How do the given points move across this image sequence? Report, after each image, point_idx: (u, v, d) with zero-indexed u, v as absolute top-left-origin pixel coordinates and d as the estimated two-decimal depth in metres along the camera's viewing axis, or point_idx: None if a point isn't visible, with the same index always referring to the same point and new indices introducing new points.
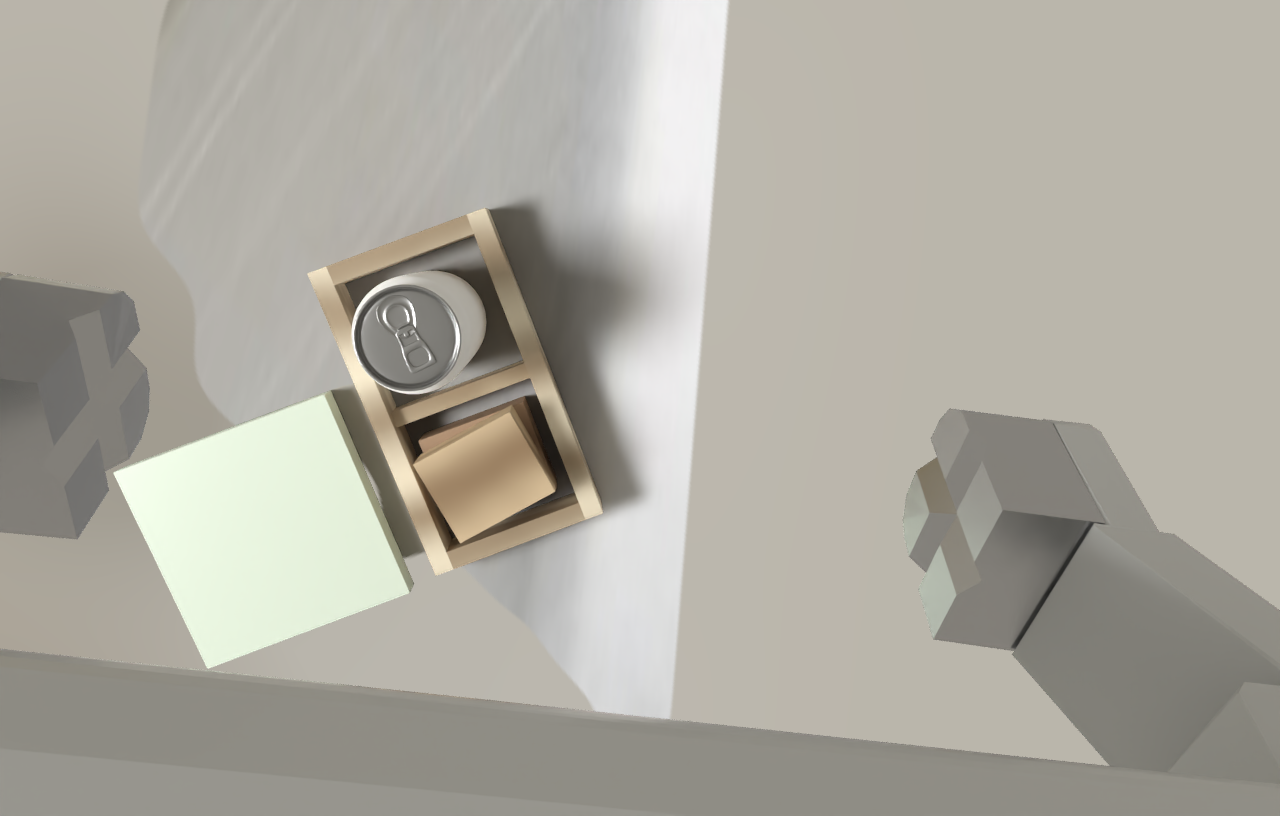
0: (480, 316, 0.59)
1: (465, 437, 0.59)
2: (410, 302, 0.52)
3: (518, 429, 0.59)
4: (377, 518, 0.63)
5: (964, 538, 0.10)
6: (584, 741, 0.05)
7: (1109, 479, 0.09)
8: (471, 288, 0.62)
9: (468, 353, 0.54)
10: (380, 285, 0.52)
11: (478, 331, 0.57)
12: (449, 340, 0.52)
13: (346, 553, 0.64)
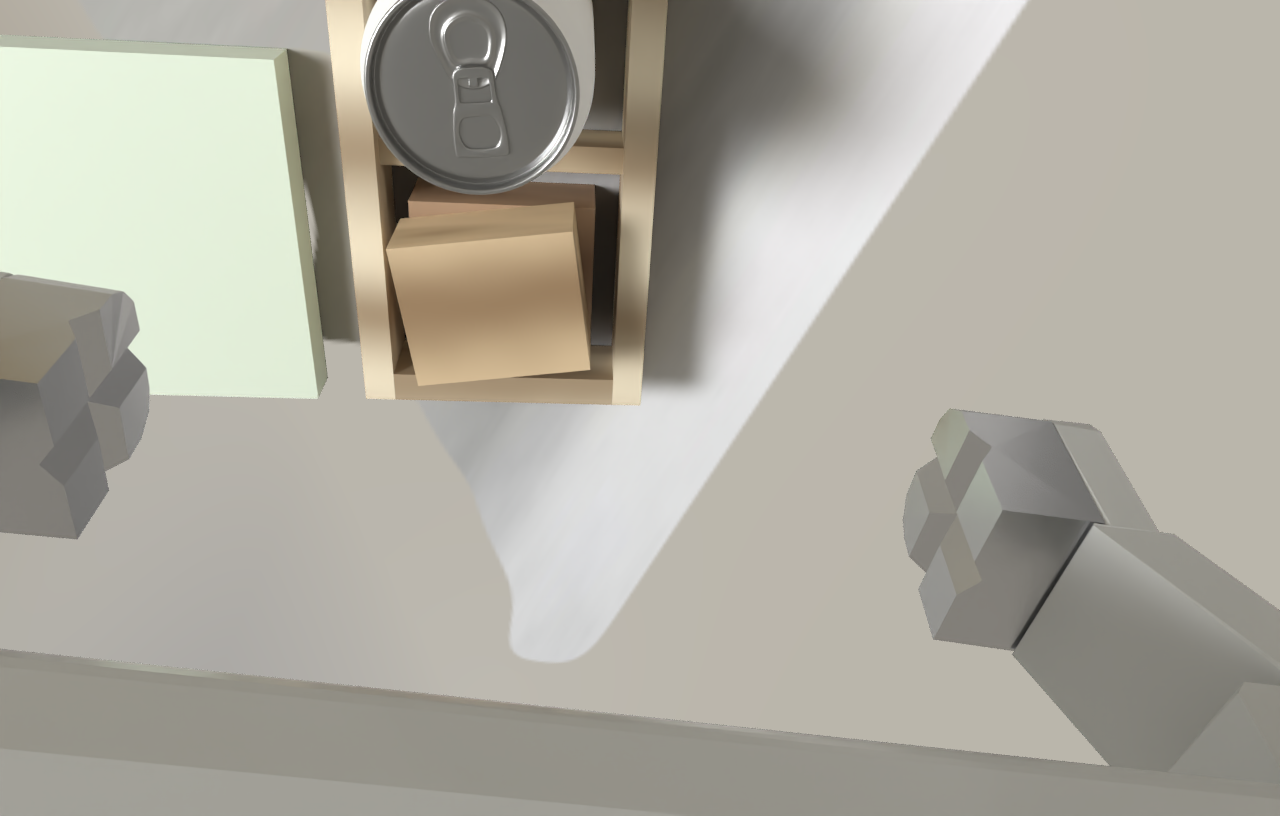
0: None
1: (486, 241, 0.35)
2: (504, 24, 0.25)
3: (575, 262, 0.35)
4: (302, 282, 0.39)
5: (964, 538, 0.10)
6: (584, 741, 0.05)
7: (1108, 480, 0.09)
8: None
9: None
10: None
11: None
12: (548, 126, 0.27)
13: (238, 313, 0.40)
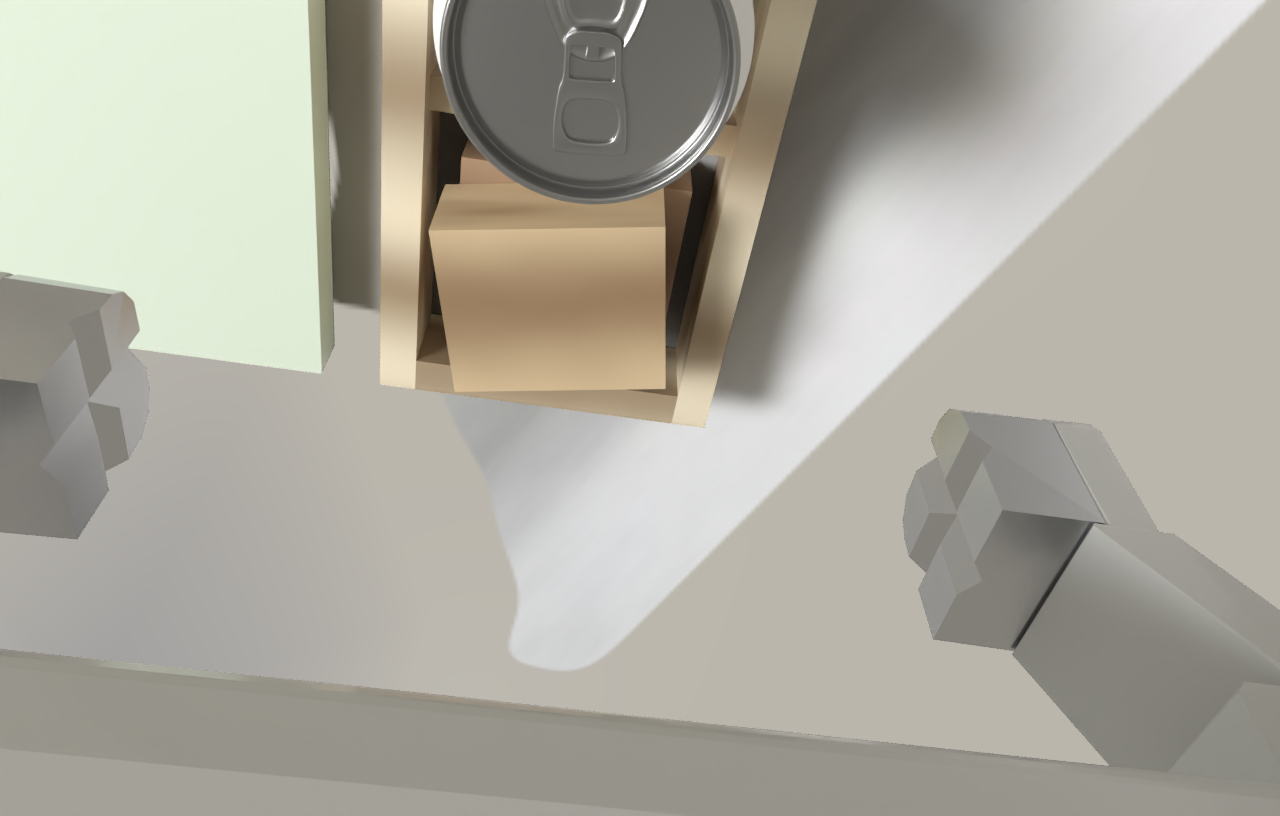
0: None
1: (556, 230, 0.28)
2: None
3: (663, 263, 0.28)
4: (316, 239, 0.32)
5: (964, 538, 0.10)
6: (584, 741, 0.05)
7: (1109, 480, 0.09)
8: None
9: None
10: None
11: None
12: (684, 123, 0.19)
13: (234, 266, 0.33)
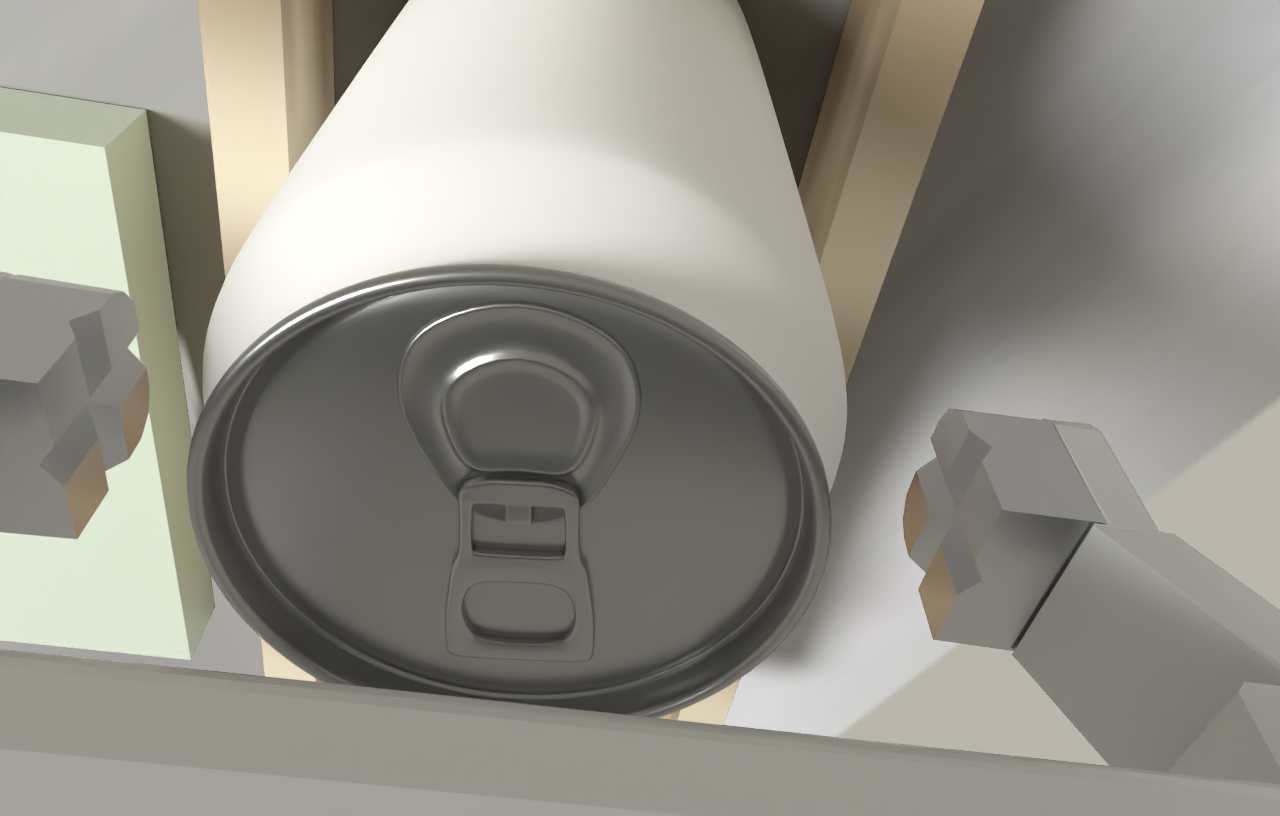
0: None
1: None
2: (638, 392, 0.08)
3: None
4: (165, 506, 0.22)
5: (964, 538, 0.10)
6: (584, 741, 0.05)
7: (1108, 479, 0.09)
8: None
9: None
10: (504, 158, 0.08)
11: None
12: (708, 613, 0.10)
13: (51, 538, 0.23)
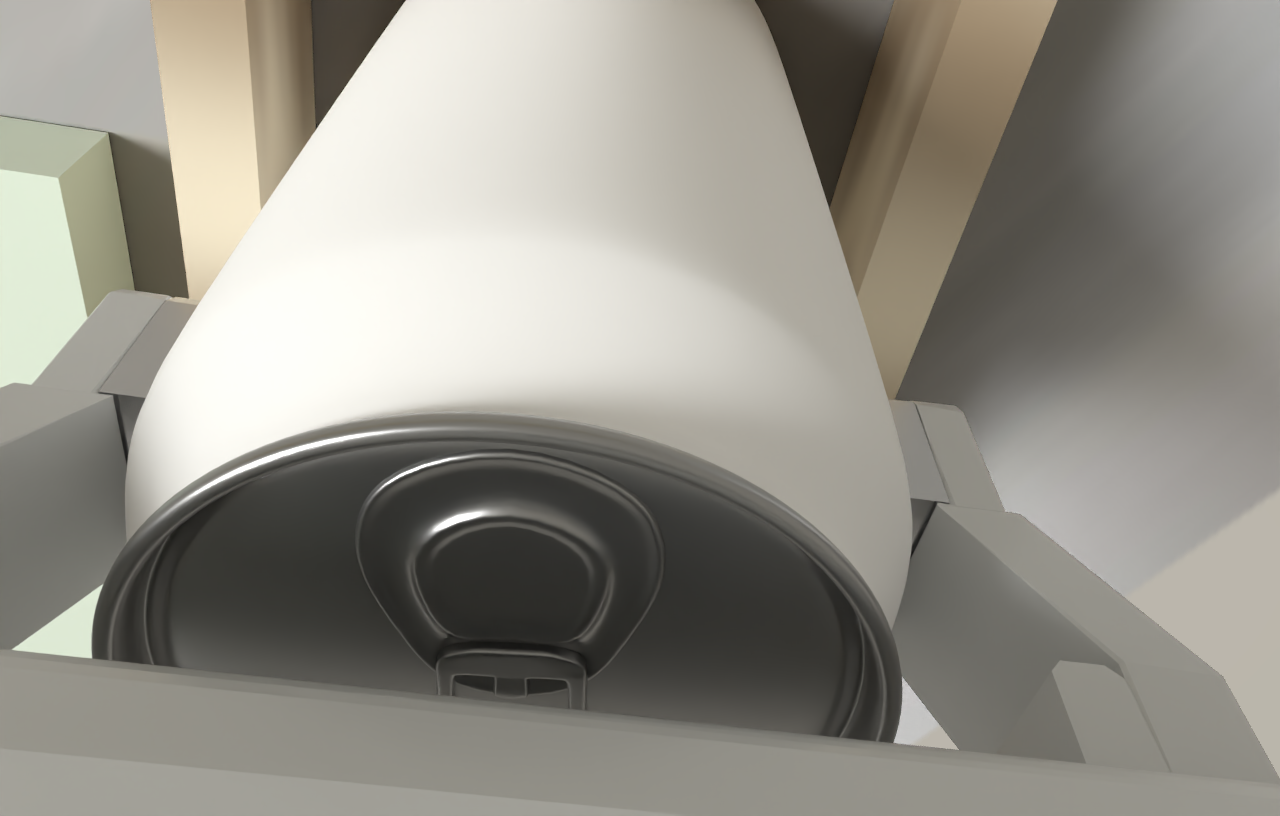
0: None
1: None
2: (661, 553, 0.06)
3: None
4: None
5: None
6: (584, 741, 0.05)
7: (961, 459, 0.09)
8: None
9: None
10: (491, 257, 0.06)
11: None
12: None
13: None
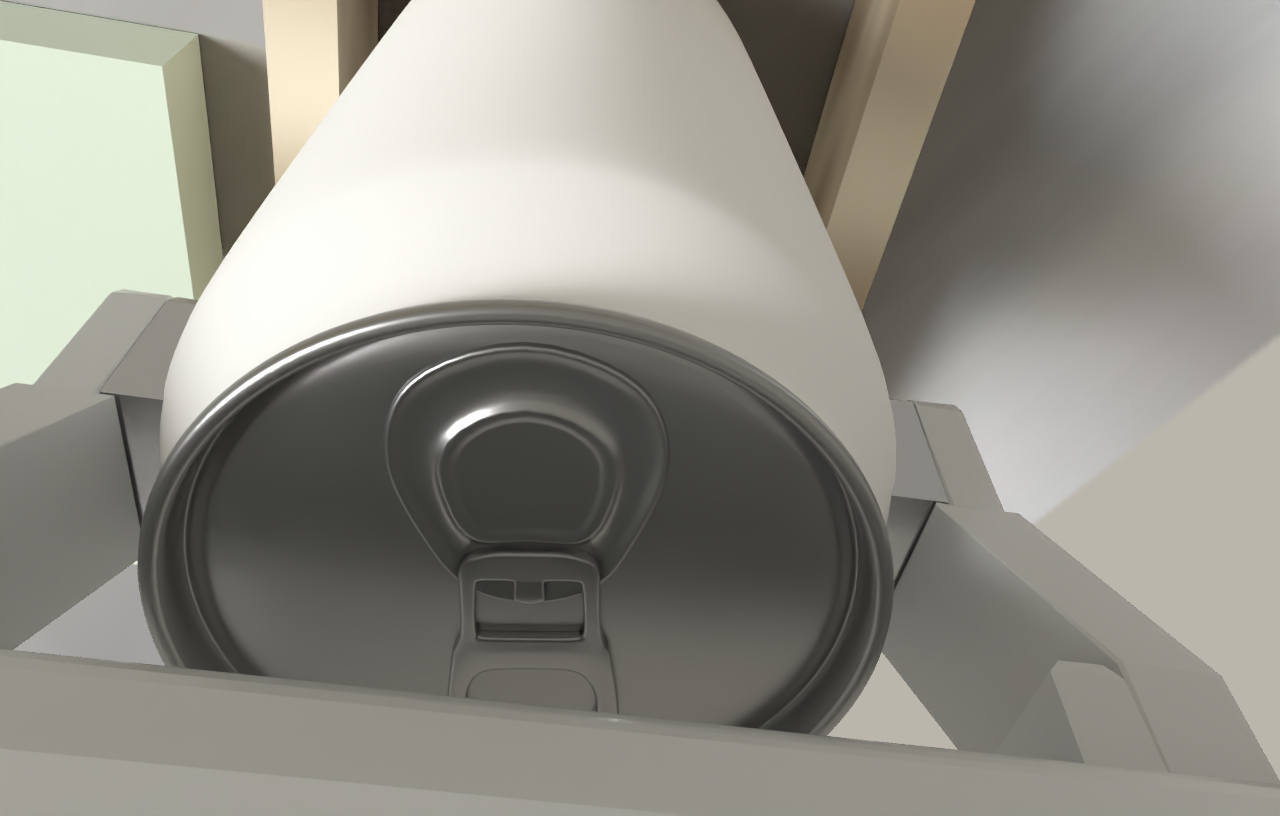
0: None
1: None
2: (665, 443, 0.07)
3: None
4: None
5: None
6: (584, 741, 0.05)
7: (961, 459, 0.09)
8: None
9: None
10: (501, 178, 0.07)
11: None
12: (749, 693, 0.08)
13: None
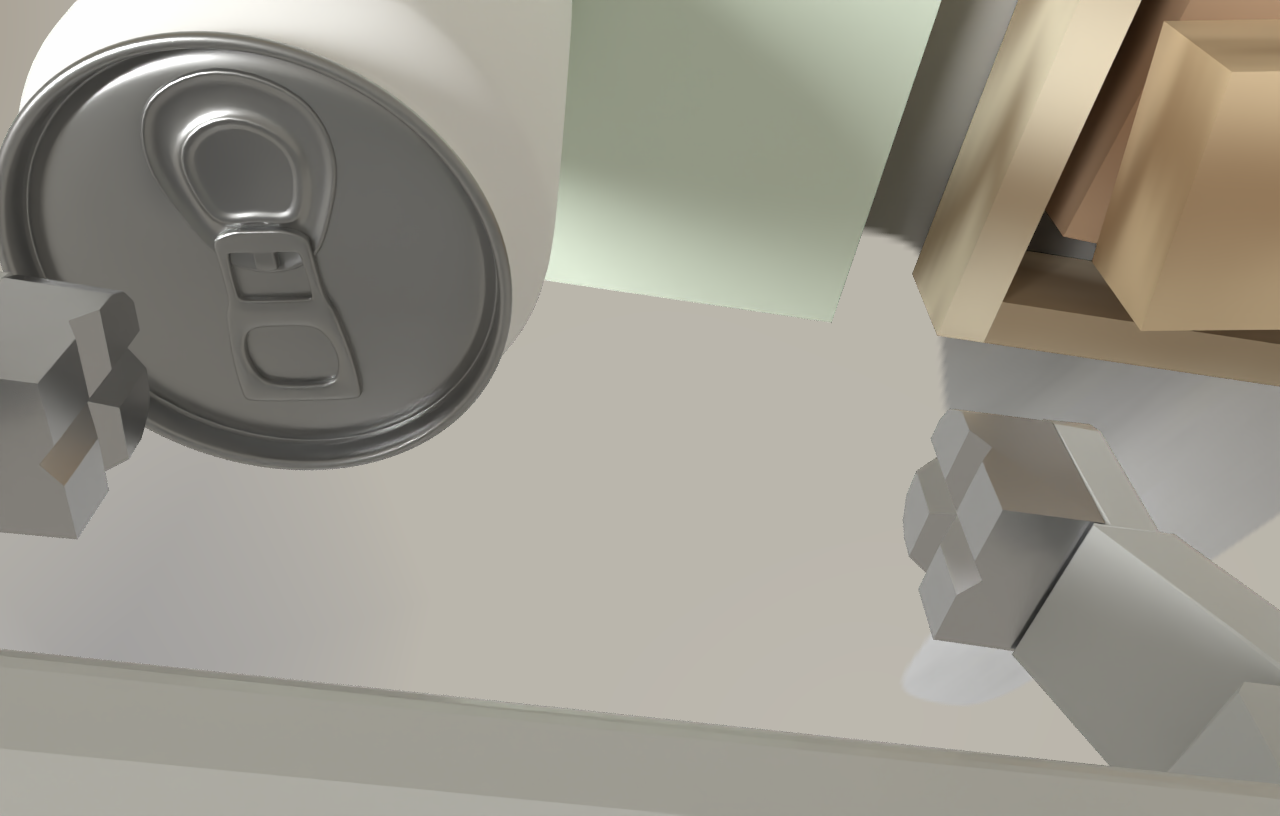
0: None
1: None
2: (328, 141, 0.10)
3: None
4: (896, 124, 0.22)
5: (964, 538, 0.10)
6: (584, 741, 0.05)
7: (1109, 479, 0.09)
8: None
9: None
10: None
11: None
12: (444, 345, 0.12)
13: (766, 165, 0.23)
